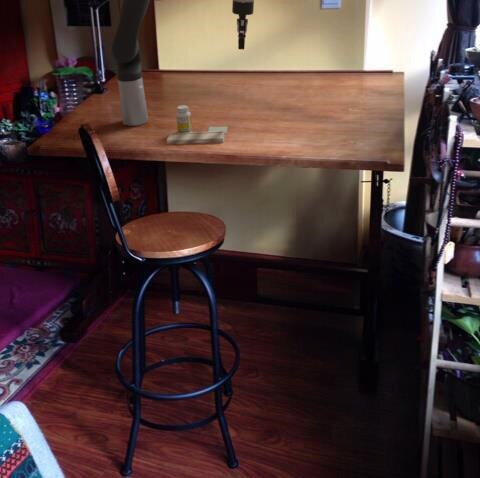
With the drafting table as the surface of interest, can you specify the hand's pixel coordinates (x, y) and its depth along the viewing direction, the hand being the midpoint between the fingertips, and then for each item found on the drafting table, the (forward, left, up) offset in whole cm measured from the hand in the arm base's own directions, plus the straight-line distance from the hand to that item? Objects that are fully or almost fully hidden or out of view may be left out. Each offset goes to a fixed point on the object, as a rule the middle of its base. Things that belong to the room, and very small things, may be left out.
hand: (241, 46), depth 227 cm
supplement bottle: (-22, -14, -27) cm, 37 cm away
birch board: (-17, -22, -27) cm, 38 cm away
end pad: (-10, -14, -27) cm, 31 cm away
